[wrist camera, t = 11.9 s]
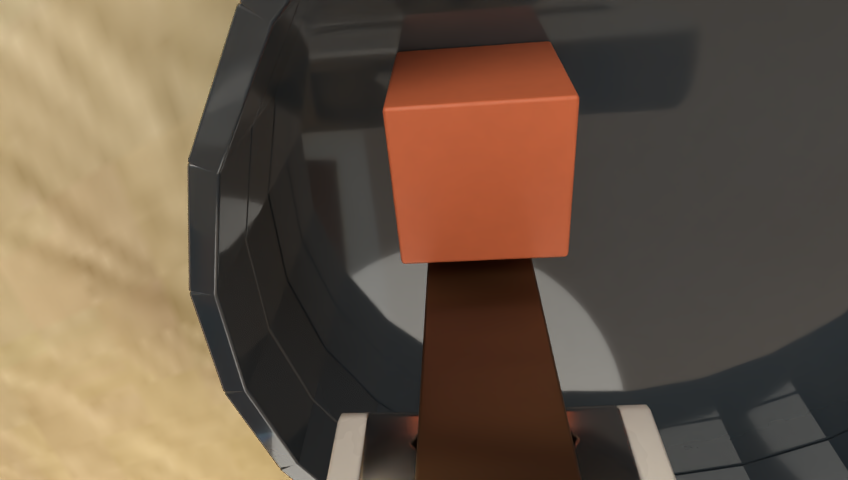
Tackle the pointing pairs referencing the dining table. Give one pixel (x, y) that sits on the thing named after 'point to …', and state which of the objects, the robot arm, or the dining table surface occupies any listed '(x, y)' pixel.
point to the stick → (489, 378)
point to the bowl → (589, 230)
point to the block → (481, 152)
